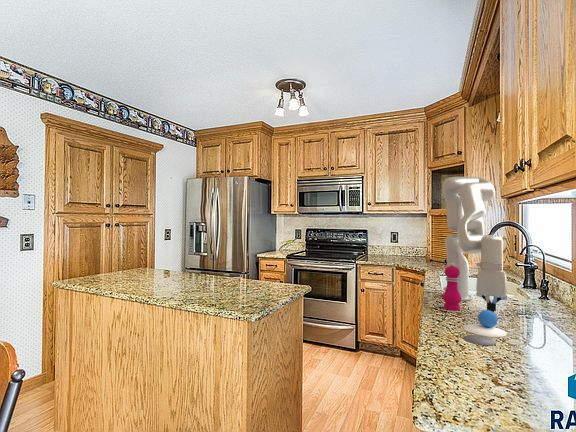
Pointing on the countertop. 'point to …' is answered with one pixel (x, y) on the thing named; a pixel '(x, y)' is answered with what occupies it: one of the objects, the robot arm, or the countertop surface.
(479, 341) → the charcoal disc
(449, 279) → the pepper mill
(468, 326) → the white disc
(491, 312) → the blue ball
